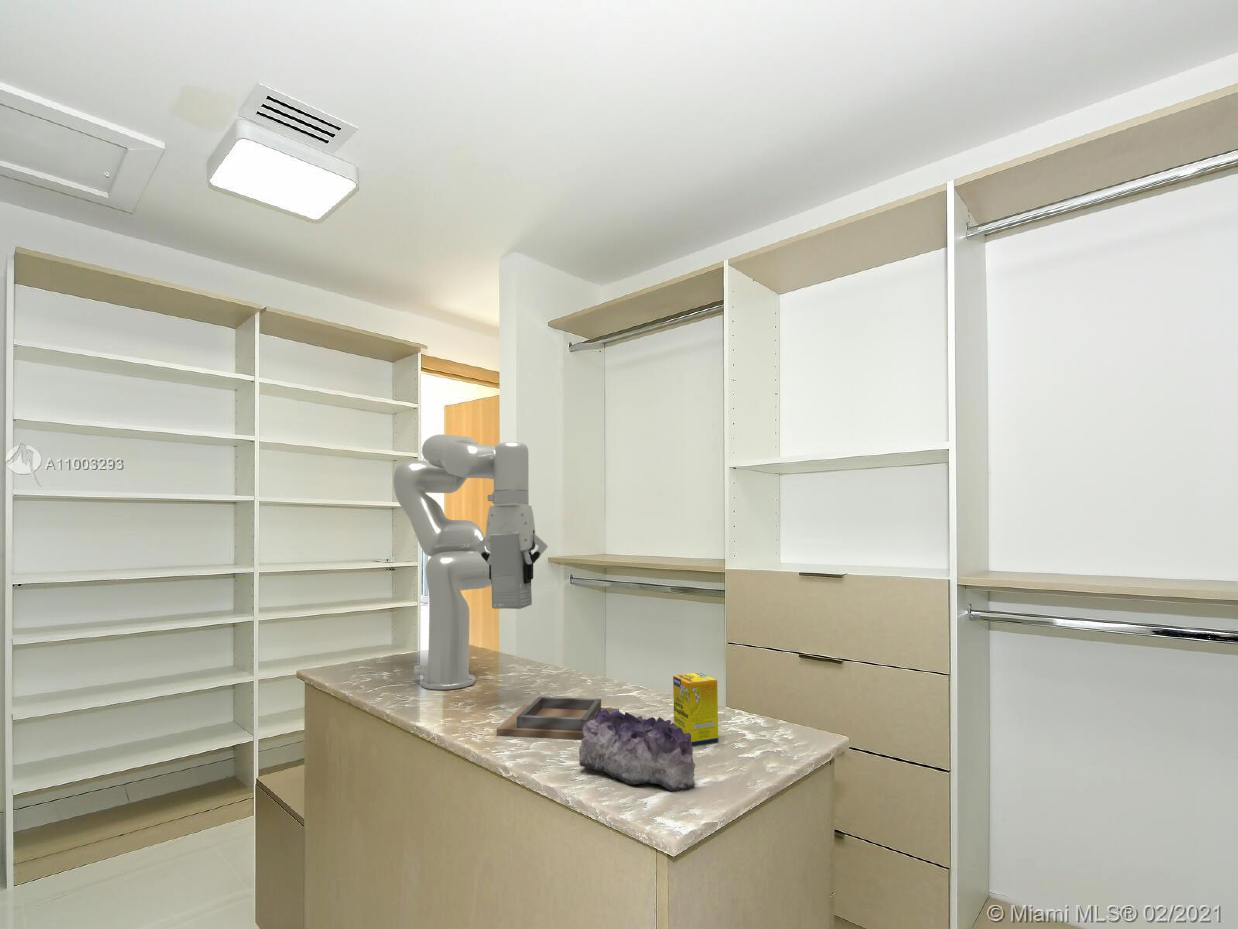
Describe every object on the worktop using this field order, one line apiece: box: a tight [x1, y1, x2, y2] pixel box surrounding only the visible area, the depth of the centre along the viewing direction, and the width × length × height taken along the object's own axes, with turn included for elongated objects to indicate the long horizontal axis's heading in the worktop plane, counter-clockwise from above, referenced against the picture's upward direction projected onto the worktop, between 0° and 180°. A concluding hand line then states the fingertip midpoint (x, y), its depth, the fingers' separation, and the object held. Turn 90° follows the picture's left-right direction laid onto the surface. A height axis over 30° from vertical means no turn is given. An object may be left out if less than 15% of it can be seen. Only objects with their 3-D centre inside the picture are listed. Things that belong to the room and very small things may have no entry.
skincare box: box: [490, 533, 533, 610], centre depth 140 cm, size 8×7×16 cm
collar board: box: [496, 696, 620, 741], centre depth 126 cm, size 20×16×3 cm
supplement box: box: [672, 672, 719, 748], centre depth 117 cm, size 6×6×11 cm
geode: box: [578, 710, 696, 793], centre depth 102 cm, size 20×12×10 cm, turn 54°
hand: (511, 582), depth 140 cm, fingers closed on skincare box, 6 cm apart
